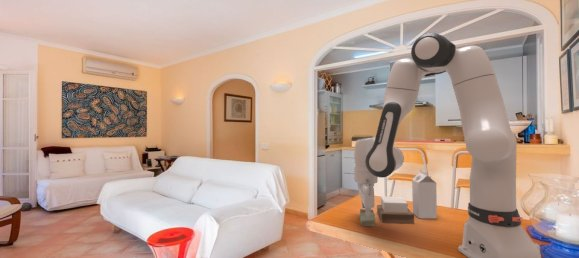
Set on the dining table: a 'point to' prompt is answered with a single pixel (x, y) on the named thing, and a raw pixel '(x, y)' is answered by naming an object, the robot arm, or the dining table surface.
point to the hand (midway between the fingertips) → (365, 211)
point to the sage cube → (367, 218)
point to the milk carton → (424, 196)
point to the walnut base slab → (395, 216)
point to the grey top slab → (394, 204)
